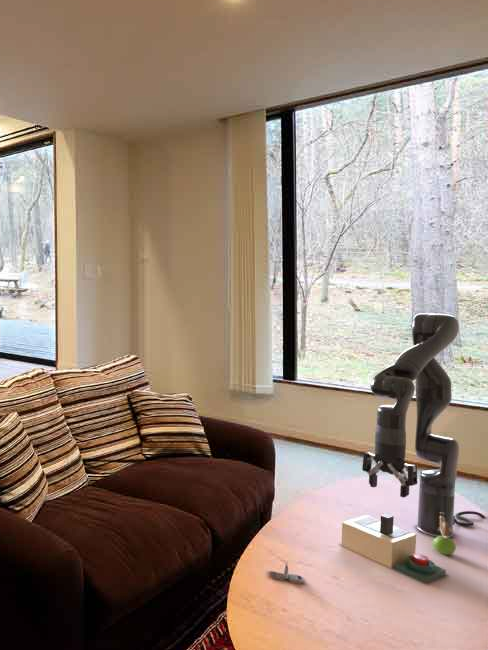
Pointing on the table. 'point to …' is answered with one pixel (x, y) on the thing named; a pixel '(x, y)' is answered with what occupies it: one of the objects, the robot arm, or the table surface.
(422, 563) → the button
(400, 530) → the long cream box
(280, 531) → the table surface
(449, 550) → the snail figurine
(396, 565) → the control block
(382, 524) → the slider
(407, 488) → the robot arm
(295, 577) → the grey elongated piece
